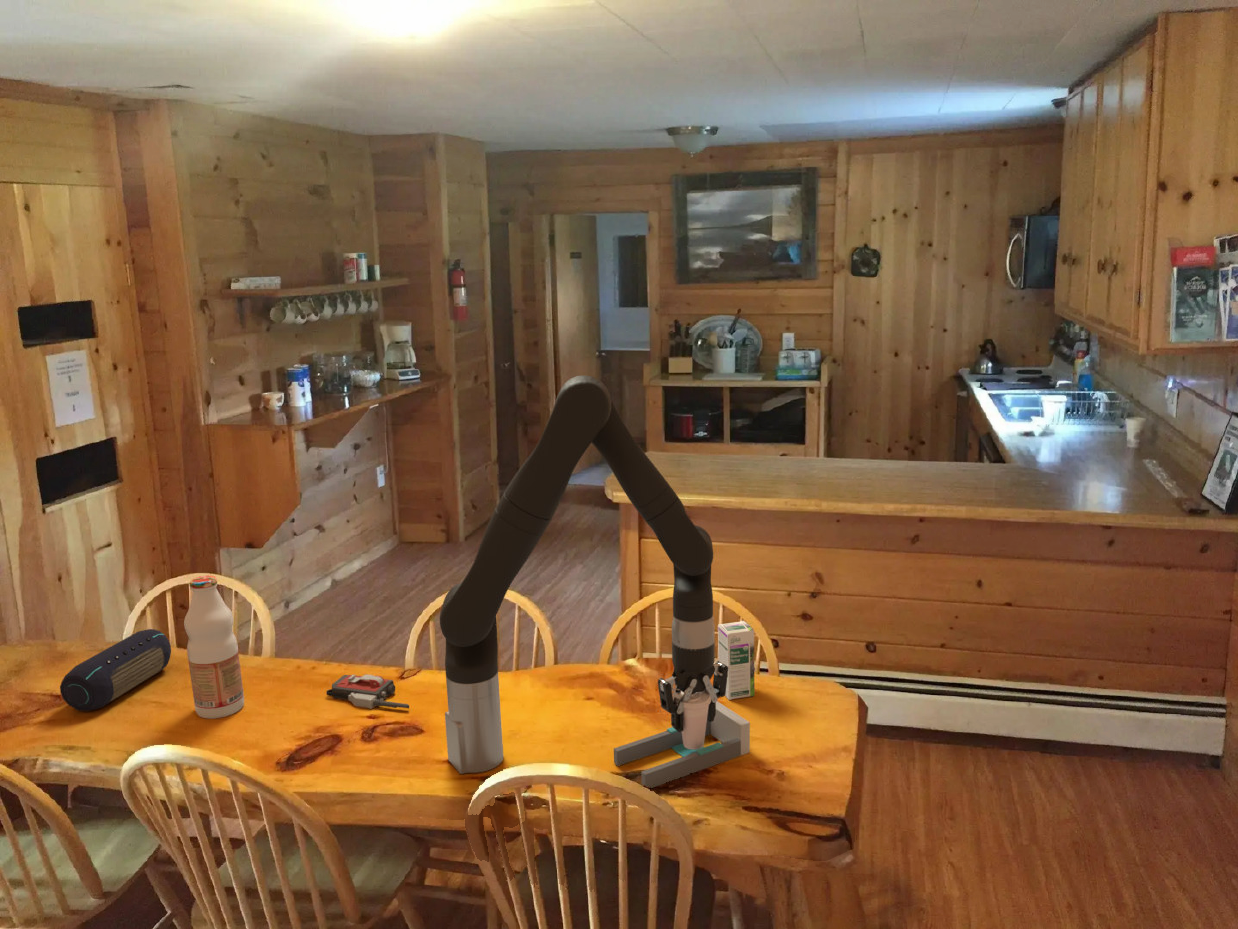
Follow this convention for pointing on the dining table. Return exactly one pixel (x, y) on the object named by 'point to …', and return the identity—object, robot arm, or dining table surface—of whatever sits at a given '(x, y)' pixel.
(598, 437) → the robot arm
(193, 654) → the fruit juice
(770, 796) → the dining table surface
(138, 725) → the dining table surface
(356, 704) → the walkie-talkie
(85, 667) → the portable speaker
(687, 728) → the smoothie
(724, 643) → the syrup box
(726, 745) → the guide channel
